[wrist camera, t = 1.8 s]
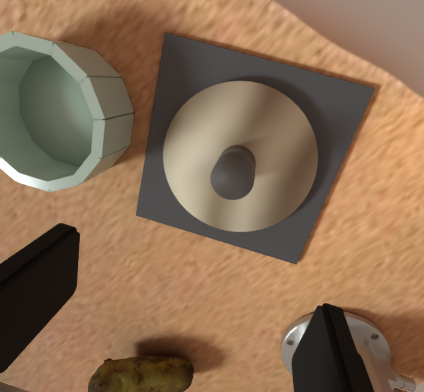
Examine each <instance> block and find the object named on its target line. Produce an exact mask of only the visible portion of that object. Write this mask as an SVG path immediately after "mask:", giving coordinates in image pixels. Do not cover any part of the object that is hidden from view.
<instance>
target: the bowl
mask: <svg viewBox="0 0 424 392" xmlns="http://www.w3.org/2000/svg"><path fill="white" fill-rule="evenodd" d="M133 112H134V109H133V107H132V104H131V101H130V98H129V95H128V92H127V89H126V87H125V84H124V81H123V78H121V76H120V75H119V74H118V73H117V72H116V71H115V70H114V69H113V68H112V67H111V66H110V65H109V64H108V63H107V62H106V61H105V60H104V59H103V58H102V57H101V56H100V55H99V54H98V53H97V52H96V51H94V50H93V49H89V48H85V47H82V46H78V45H74V44H71V43H67V42H63V41H59V40H54V39H49V38H44V37H39V36H35V35H30V34H25V33H20V32H15V31H14V32H13V31H11V32H9V33H6V34H4V35H2V36H0V168H1V169H2V170H3V171H5V172H6V173H7V174H8V175H9V176H10V177H11V178H13V179H14V180H15V181H17V182H19V183H22V184H25V185H29V186H32V187H35V188H38V189H42V190H45V191H48V192H50V191H51V192H52V191H56V190H60V189H64V188H68V187H73V186H77V185H80V184H82V183H84V182H86V181H87V180H89V179H91V178H93V177H95V176H96V175H98V174H100V173H102V172H104V171H105V170H107V169H109V168H111V167H112V166H113V165H114V164H115V163H116V162H117V160H118V159H119V158H120V157H121V156H122V155H123V153H124V152H125V151H126V150H127V149H128V147H129V145H130V143H131V136H132V129H133V121H134V113H133Z"/></svg>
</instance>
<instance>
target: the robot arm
mask: <svg viewBox="0 0 424 392" xmlns="http://www.w3.org/2000/svg"><path fill="white" fill-rule="evenodd" d="M79 242H80V234H79V232H77V229H76V228H75V227H72V226H69V225H66V224H63V223H59V224H57V225H56V226H55V227H53V228H52V229H50V230H49V231H47V232H46V233H44V234H43V235H42V236H40V237H39V238H37V239H36V240H34V241H33V242H31V243H30V244H29V245H27V246H26V247H24V248H23V249H21V250H20V251H18V252H17V253H15V254H14V255H13V256H11V257H10V258H8V259H7V260H5V261H4V262H2V263H1V264H0V373H2V372H4V371H5V370H6V369H7V368H8V367H9V366H10V365H11V364H12V362H13V361H14V360H15V359H16V358H17V357H18V356H19V355H20V353H21V352H22V351H23V350H24V349H25V348H26V347H27V346H28V345H29V343H30V342H31V341H32V340H33V339H34V338H35V337H36V336H37V334H38V333H39V332H40V331H41V330H42V329H43V328H44V327H45V326H46V324H47V323H48V322H49V321H50V320H51V319H52V318H53V317H54V315H55V314H56V313H57V312H58V311H59V310H60V309H61V308H62V307H63V305H64V304H65V303H66V302H67V301H68V300H69V299H70V298H71V296H72V295H73V294H74V292H75V290H76V287H77V273H78V258H79ZM281 355H282V360H283V363H284V365H285V367H286V369H287V370H288V372H289V373H290V374H291V375H292V376H293V385H294V392H407V391H404V390H401V389H398V388H395V387H396V386H397V387H400V388H402V389H405V390H408V391H411V392H414V391H415V389H416V383H415V381H414V379H412V378H409V377H406V376H402V375H397V374H395V372H394V371H393V370H392V368H391V366H390V359H391V352H390V347H389V345H388V342H387V340H386V338H385V337H384V335H383V333H382V332H381V331H380V329H379V328H378V327H377V326H376V325H374V324H373V323H372V322H370V321H369V320H367V319H365V318H363V317H361V316H359V315H356V314H353V313H349V312H343V310H342V308H340V307H337V306H333V305H330V304H327V303H324V304H323V305H322V306H317V308H316V310H315V312H314V313H313V314H309V315H306V316H304V317H302V318H300V319H298V320H297V321H296V322H294V323H293V324H292V325H291V326H290V327H289V328H288V329H287V330H286V332H285V334H284V336H283V338H282V342H281ZM0 392H29V391H26V390H23V389H20V388H17V387H14V386H11V385H8V384H4V383H1V382H0Z"/></svg>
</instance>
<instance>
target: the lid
mask: <svg viewBox="0 0 424 392" xmlns="http://www.w3.org/2000/svg"><path fill="white" fill-rule="evenodd" d="M163 163H164V170H165V174H166V178H167V181H168V183H169V186H170V188H171V190H172V192H173V194H174V195H175V197H176V198H177V200H178V201H179V202H180V204H181V205H182V206H183V207H184V208H185V209H186V210H187V211H188V212H189V213H190V214H192V215H193V216H194V217H196V218H197V219H199V220H200V221H202V222H204V223H206V224H208V225H210V226H212V227H215V228H218V229H222V230H226V231H233V232H249V231H256V230H260V229H264V228H267V227H270V226H273V225H275V224H276V223H278V222H280V221H282V220H284V219H285V218H286V217H288V216H289V215H290V214H292V213H293V212H294V211H295V210H296V209H297V208H298V207H299V206H300V205H301V203H302V202H303V201H304V199H305V198H306V196H307V195H308V193H309V191H310V189H311V187H312V185H313V182H314V179H315V176H316V171H317V166H318V150H317V143H316V139H315V135H314V132H313V130H312V127H311V125H310V123H309V121H308V119H307V118H306V116H305V114H304V113H303V112H302V111H301V109H300V108H299V107H298V106H297V105H296V104H295V103H294V102H293V101H292V100H291V99H290V98H288V97H287V96H286V95H284V94H283V93H281V92H280V91H278V90H276V89H274V88H272V87H269V86H266V85H263V84H261V83H255V82H250V81H231V82H225V83H220V84H216V85H214V86H211V87H209V88H206V89H204V90H202V91H201V92H199V93H197V94H196V95H194V96H193V97H192V98H190V99H189V100H188V101H187V102H186V103H185V104H184V105H183V106H182V107H181V108H180V110H179V111H178V112H177V114H176V115H175V117H174V118H173V120H172V122H171V124H170V126H169V128H168V131H167V134H166V138H165V142H164V149H163Z"/></svg>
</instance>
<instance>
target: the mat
mask: <svg viewBox="0 0 424 392" xmlns="http://www.w3.org/2000/svg"><path fill="white" fill-rule="evenodd" d="M231 81H250V82H255V83H261V84H263V85H266V86H269V87H272V88H274V89H276V90H278V91H280V92H281V93H283V94H284V95H286V96H287V97H288V98H290V99H291V100H292V101H293V102H294V103H295V104H296V105H297V106H298V107H299V108H300V109H301V111H302V112H303V113H304V114H305V116H306V118H307V119H308V121H309V123H310V125H311V127H312V130H313V132H314V135H315V139H316V143H317V150H318V166H317V171H316V176H315V179H314V182H313V185H312V187H311V189H310V191H309V193H308V195H307V196H306V198H305V199H304V201H303V202H302V203H301V205H300V206H299V207H298V208H297V209H296V210H295V211H294V212H293V213H292V214H290V215H289V216H288V217H286V218H285V219H284V220H282V221H280V222H278V223H276V224H275V225H273V226H270V227H267V228H264V229H260V230H256V231H249V232H233V231H226V230H222V229H218V228H215V227H212V226H210V225H208V224H206V223H204V222H202V221H200V220H199V219H197V218H196V217H194V216H193V215H192V214H190V213H189V212H188V211H187V210H186V209H185V208H184V207H183V206H182V205H181V204H180V202H179V201H178V200H177V198H176V197H175V195H174V194H173V192H172V190H171V188H170V186H169V183H168V181H167V178H166V174H165V170H164V163H163V149H164V142H165V138H166V134H167V131H168V128H169V126H170V124H171V122H172V120H173V118H174V117H175V115H176V114H177V112H178V111H179V110H180V108H181V107H182V106H183V105H184V104H185V103H186V102H187V101H188V100H189V99H190V98H192V97H193V96H194V95H196V94H197V93H199V92H201V91H202V90H204V89H206V88H209V87H211V86H214V85H216V84H220V83H225V82H231ZM374 89H375V88H372V87H368V86H364V85H360V84H357V83H353V82H349V81H345V80H342V79H338V78H334V77H330V76H327V75H323V74H319V73H315V72H312V71H308V70H304V69H300V68H297V67H293V66H289V65H285V64H281V63H278V62H274V61H270V60H266V59H263V58H259V57H255V56H251V55H248V54H244V53H240V52H236V51H233V50H229V49H225V48H221V47H218V46H214V45H210V44H206V43H203V42H199V41H195V40H191V39H188V38H184V37H180V36H176V35H173V34H169V33H165V37H164V43H163V50H162V56H161V62H160V68H159V75H158V81H157V87H156V93H155V100H154V106H153V112H152V118H151V125H150V131H149V137H148V143H147V150H146V156H145V162H144V168H143V175H142V181H141V187H140V193H139V199H138V206H137V212H136V216H140V217H143V218H146V219H150V220H153V221H156V222H159V223H163V224H166V225H169V226H172V227H176V228H179V229H182V230H186V231H189V232H192V233H195V234H199V235H202V236H205V237H208V238H212V239H215V240H218V241H222V242H225V243H228V244H231V245H235V246H238V247H241V248H244V249H248V250H251V251H254V252H258V253H261V254H264V255H267V256H271V257H274V258H277V259H280V260H284V261H287V262H290V263H293V264H297V262H298V260H299V257H300V255H301V253H302V251H303V248H304V246H305V244H306V242H307V239H308V237H309V235H310V233H311V230H312V228H313V226H314V224H315V221H316V219H317V217H318V215H319V213H320V210H321V208H322V206H323V204H324V201H325V199H326V197H327V195H328V192H329V190H330V188H331V186H332V183H333V181H334V179H335V177H336V174H337V172H338V170H339V168H340V165H341V163H342V161H343V159H344V156H345V154H346V152H347V150H348V147H349V145H350V143H351V141H352V138H353V136H354V134H355V132H356V130H357V127H358V125H359V123H360V121H361V118H362V116H363V114H364V112H365V109H366V107H367V105H368V103H369V100H370V98H371V96H372V94H373V91H374Z"/></svg>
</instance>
